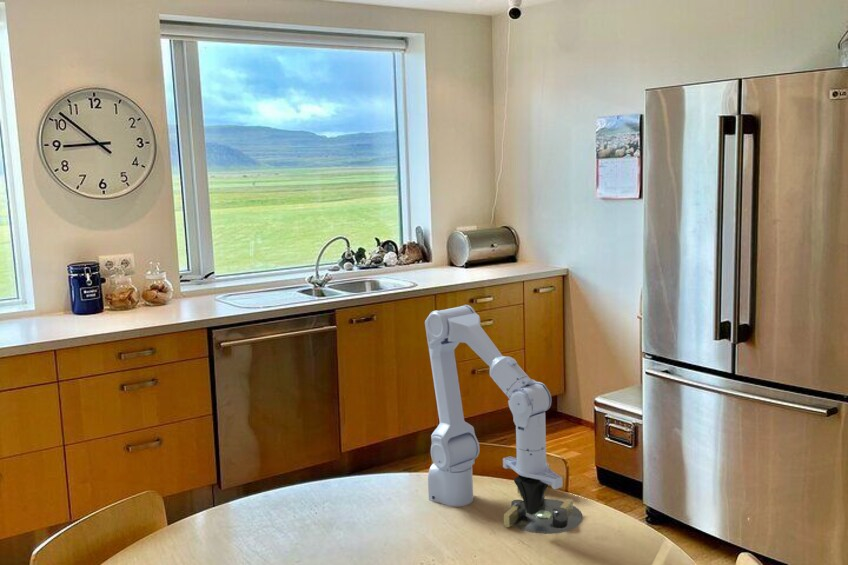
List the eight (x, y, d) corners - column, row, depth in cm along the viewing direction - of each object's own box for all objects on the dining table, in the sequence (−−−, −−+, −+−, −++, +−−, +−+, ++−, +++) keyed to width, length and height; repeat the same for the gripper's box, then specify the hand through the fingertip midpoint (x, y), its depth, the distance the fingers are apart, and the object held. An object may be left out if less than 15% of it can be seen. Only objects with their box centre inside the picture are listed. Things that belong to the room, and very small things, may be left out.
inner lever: (514, 511, 161) (514, 498, 160) (528, 513, 159) (527, 501, 159) (499, 526, 154) (499, 513, 154) (513, 529, 153) (513, 516, 152)
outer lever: (564, 528, 152) (564, 515, 152) (550, 525, 154) (550, 512, 153) (577, 512, 159) (576, 500, 158) (563, 510, 160) (563, 497, 160)
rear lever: (547, 504, 163) (547, 491, 163) (536, 507, 162) (536, 495, 161) (525, 491, 170) (524, 480, 169) (514, 495, 168) (514, 483, 168)
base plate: (492, 529, 156) (492, 522, 156) (522, 498, 170) (522, 492, 169) (568, 545, 148) (567, 538, 148) (592, 512, 162) (592, 505, 161)
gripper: (573, 450, 145) (574, 518, 147) (520, 431, 156) (521, 494, 158) (546, 460, 140) (548, 529, 142) (494, 440, 152) (496, 504, 154)
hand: (532, 512), depth 150 cm, fingers closed
